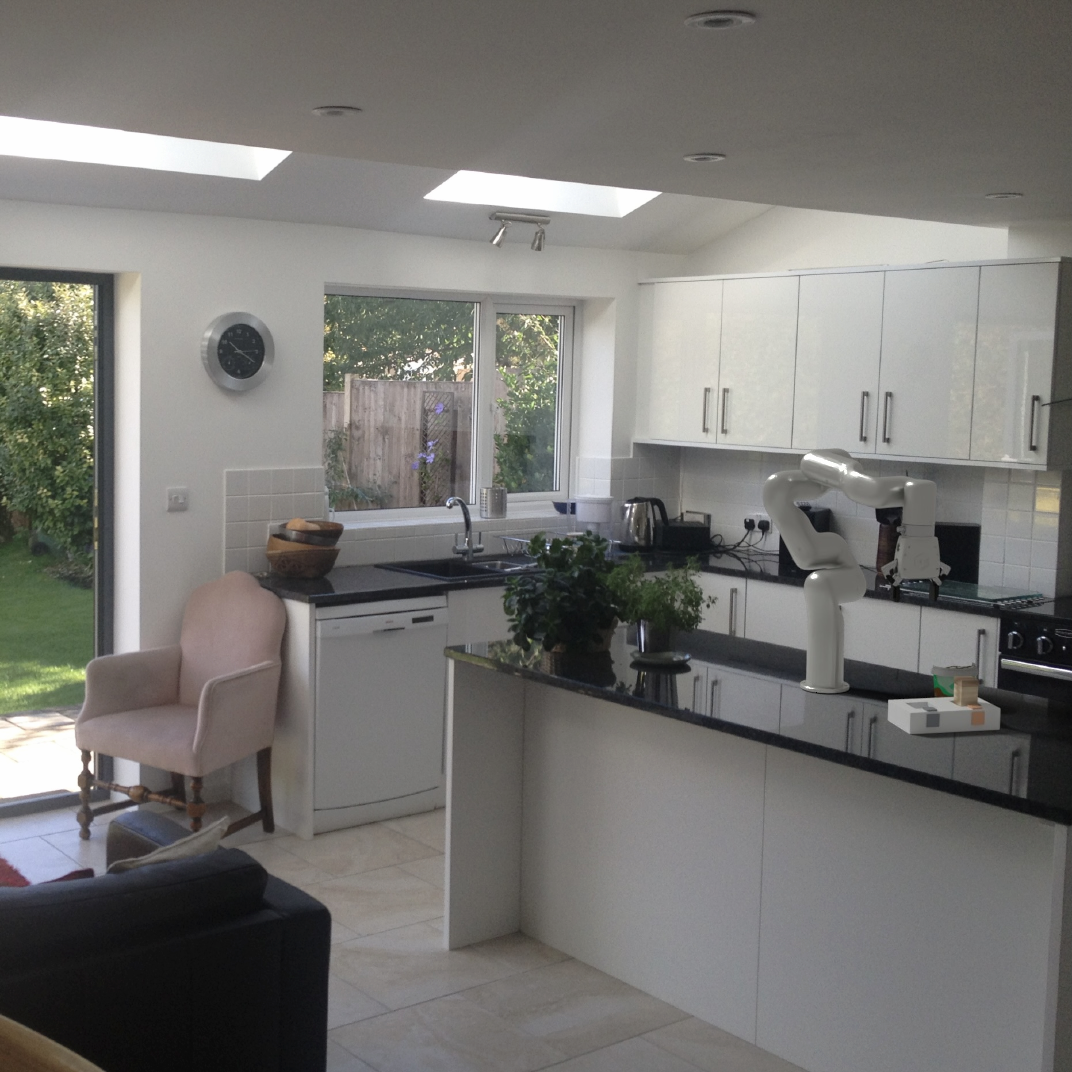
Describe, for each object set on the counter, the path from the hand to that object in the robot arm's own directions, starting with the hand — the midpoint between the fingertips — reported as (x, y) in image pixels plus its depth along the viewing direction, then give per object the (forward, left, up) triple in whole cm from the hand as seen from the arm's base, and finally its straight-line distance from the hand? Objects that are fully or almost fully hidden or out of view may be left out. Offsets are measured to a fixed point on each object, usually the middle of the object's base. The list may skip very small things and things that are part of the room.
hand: (914, 601), depth 308 cm
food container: (-2, +14, -28) cm, 31 cm away
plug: (+14, +7, -26) cm, 30 cm away
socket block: (+14, +2, -27) cm, 30 cm away
